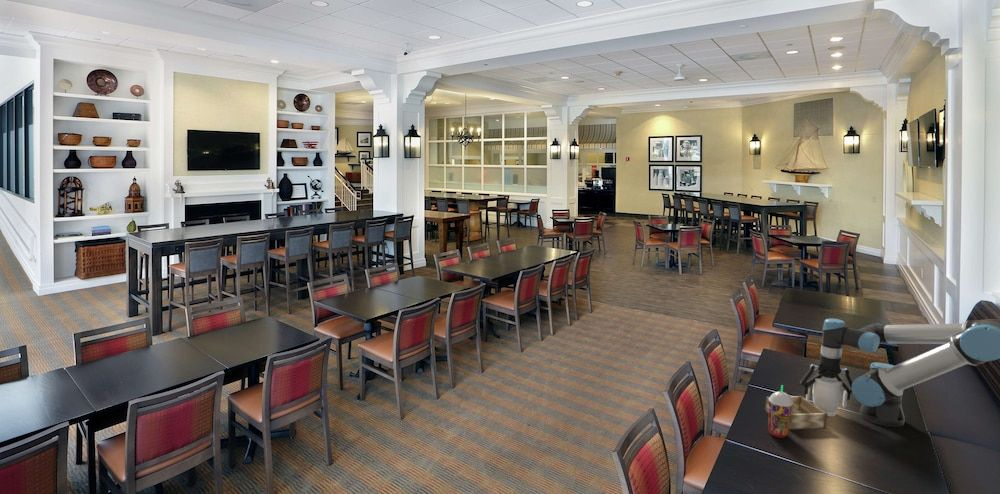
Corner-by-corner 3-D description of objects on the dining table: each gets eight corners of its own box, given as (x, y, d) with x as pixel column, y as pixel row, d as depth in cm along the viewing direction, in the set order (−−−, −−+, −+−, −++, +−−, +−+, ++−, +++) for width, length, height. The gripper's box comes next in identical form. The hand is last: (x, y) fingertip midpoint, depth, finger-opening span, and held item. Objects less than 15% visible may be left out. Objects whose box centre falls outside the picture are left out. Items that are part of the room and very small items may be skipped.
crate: (799, 409, 232) (801, 395, 231) (826, 428, 215) (827, 413, 214) (764, 410, 230) (766, 396, 229) (788, 429, 214) (790, 414, 213)
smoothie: (780, 441, 204) (785, 391, 201) (760, 431, 212) (765, 383, 209) (794, 436, 208) (799, 387, 205) (774, 427, 216) (779, 379, 213)
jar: (843, 419, 223) (847, 384, 221) (815, 416, 225) (819, 382, 223) (833, 408, 233) (836, 375, 231) (806, 405, 235) (810, 372, 233)
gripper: (863, 356, 225) (857, 405, 228) (795, 349, 233) (790, 395, 236) (868, 362, 218) (862, 412, 221) (798, 354, 226) (793, 402, 229)
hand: (825, 404), depth 229 cm, fingers open, 13 cm apart
